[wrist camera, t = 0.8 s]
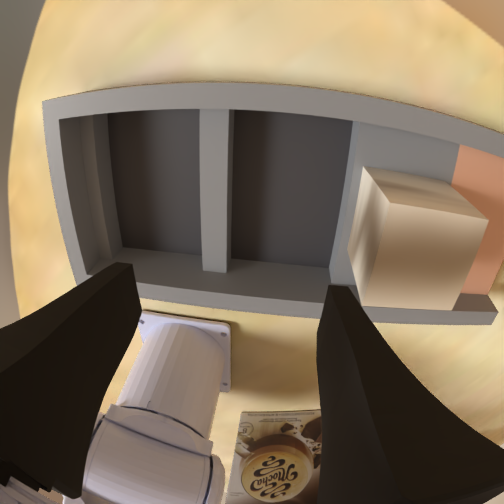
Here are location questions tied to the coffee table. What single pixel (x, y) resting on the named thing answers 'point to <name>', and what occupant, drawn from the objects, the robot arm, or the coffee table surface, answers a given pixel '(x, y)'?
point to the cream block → (412, 241)
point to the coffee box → (276, 458)
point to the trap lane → (255, 190)
